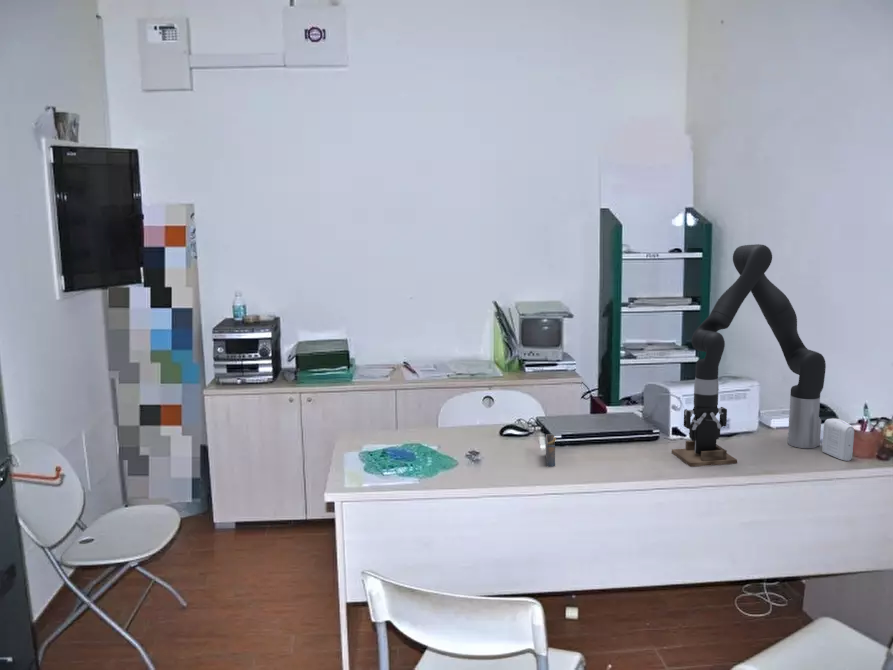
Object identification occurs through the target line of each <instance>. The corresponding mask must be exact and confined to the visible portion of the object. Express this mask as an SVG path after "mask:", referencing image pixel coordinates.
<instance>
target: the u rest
mask: <svg viewBox="0 0 893 670" xmlns="http://www.w3.org/2000/svg"><path fill="white" fill-rule="evenodd" d="M684 447H685V448H676V449H675V448H674V449H673V448H672V449H671V454H672V455H674V456H675V457H676V458H677V459H679V460H681V461H682V462H683V463H685V464H686V465H687V466H689V468H693V467H706V466H718V465H720V466H721V465H732V464H734V465H735V464H738V459H736V458H735V457H733V456H732V455H730V454H729V453H728V451H727V450H726V449H725V448H723V447H722V446H720V445H719V444H717V443H716V450H713V451H701V454H697V453H695V452H694V448H695V441H692V440H691V439H690V440H685V446H684Z"/></svg>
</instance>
